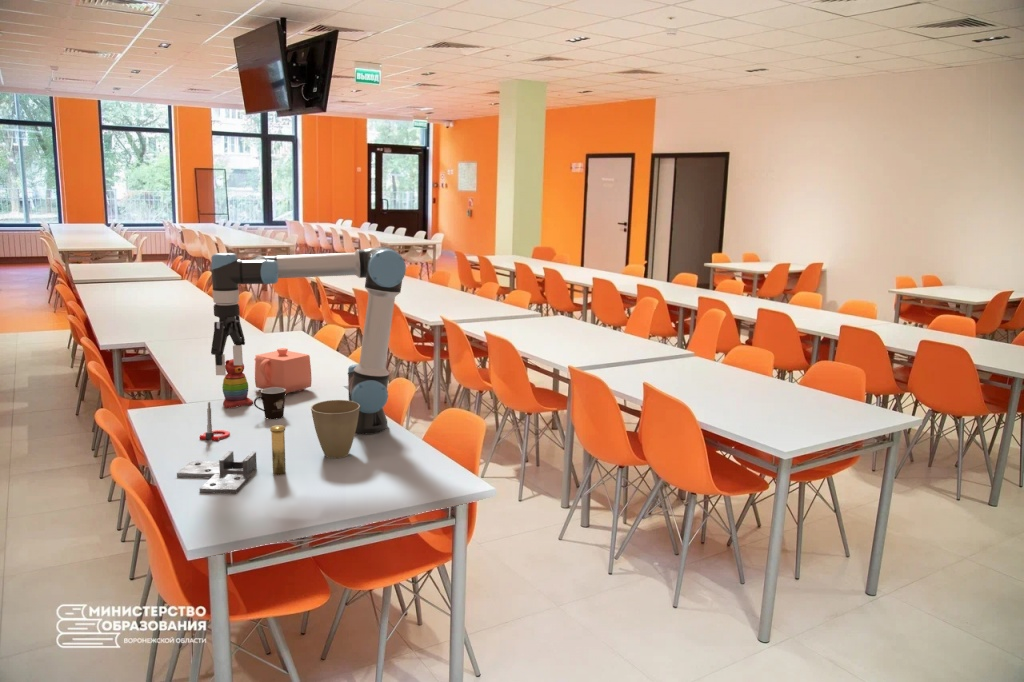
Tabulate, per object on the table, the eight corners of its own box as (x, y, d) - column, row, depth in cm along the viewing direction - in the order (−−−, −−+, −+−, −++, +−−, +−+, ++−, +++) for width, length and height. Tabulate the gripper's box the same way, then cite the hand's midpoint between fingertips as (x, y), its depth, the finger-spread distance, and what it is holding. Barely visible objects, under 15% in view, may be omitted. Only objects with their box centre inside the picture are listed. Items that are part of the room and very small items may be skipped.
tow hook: (211, 432, 260) (196, 439, 250) (211, 395, 258) (195, 401, 249) (234, 434, 258) (220, 441, 249) (234, 397, 256) (219, 403, 247)
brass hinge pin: (288, 470, 225) (287, 425, 222) (284, 475, 221) (282, 429, 218) (274, 470, 225) (272, 425, 222) (269, 475, 221) (268, 429, 218)
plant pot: (304, 452, 241) (303, 404, 238) (347, 444, 250) (347, 397, 247) (324, 466, 230) (322, 415, 227) (368, 457, 239) (368, 408, 235)
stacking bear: (226, 409, 285) (224, 363, 282) (217, 403, 293) (215, 358, 290) (255, 404, 292) (253, 360, 289) (245, 399, 300) (243, 355, 296)
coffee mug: (284, 412, 283) (283, 386, 281) (288, 418, 276) (287, 392, 274) (251, 415, 278) (250, 389, 276) (254, 422, 271) (253, 395, 269)
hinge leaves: (261, 466, 228) (260, 450, 227) (236, 493, 207) (235, 476, 206) (191, 464, 228) (190, 448, 227) (159, 491, 207) (158, 474, 206)
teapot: (235, 390, 312) (233, 348, 309) (278, 379, 331) (276, 339, 328) (277, 400, 299) (275, 356, 296) (319, 388, 318) (318, 347, 315)
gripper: (230, 297, 247) (233, 361, 251) (196, 309, 222) (200, 379, 226) (253, 298, 246) (256, 361, 251) (221, 309, 222) (225, 379, 226)
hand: (229, 370), depth 238 cm, fingers open, 13 cm apart
